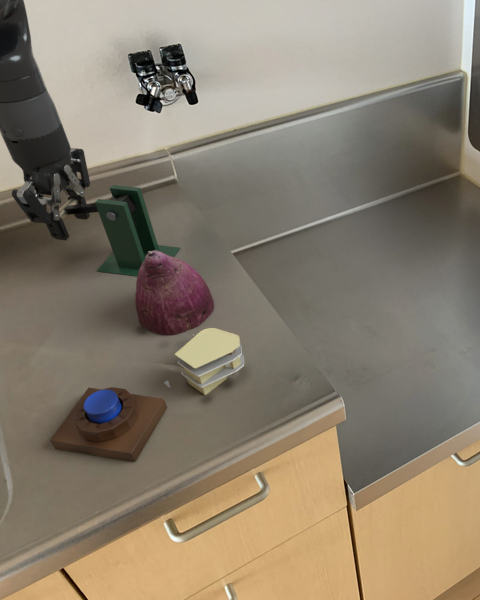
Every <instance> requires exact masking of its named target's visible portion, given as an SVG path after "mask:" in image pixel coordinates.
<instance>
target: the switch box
mask: <svg viewBox="0 0 480 600" xmlns="http://www.w3.org/2000/svg"><path fill="white" fill-rule="evenodd" d="M100 390H111V391H114V392H115V393H116V394H117V396H118V399H119V401H120V403H121V411H120V413H119V415H118V416H117V417H115V418H114V419H112V420H111V421H109V422H106V423H94V422H92V421H91V420H90V419H89V417H88V415H87V413H86V411H85V409H84V403H85V401H86V399H87V398H88V397H89V396H90V395H91V394H93V393H95V392H97V391H100ZM167 409H168V406H167V403H166V400H165V398H163V397H162V398H161V397H156V396H155V397H154V396H149V395H148V396H147V395H143V394H142V395H141V394H134V393H131V392H129V391H128V390H127V389H126V388H121V387H114V386H111V387H107V388H102V389H101V388H96V387H87V389H86V390H85V392H83V394H82V395H81V397H80V398H79V400H78V401H77V403H76V404H75V405H74V407H72V409H71V410H70V412H69V413H68V415H67V416H66V418H65V419H64V420H63V422H62V423H61V424H60V426H59V427H58V428H57V430H56V431H55V432H54V434H53V435H52V437H51V438H50V442H51V444H52V446H53V448H54V449H56V450H61V451H67V452H73V453H79V454H85V455H90V456H97V457H104V458H109V459H115V460H122V461H127V462H134V463H136V462H137V461H138V459H139V457H140V455H141V453H142V452H143V450H144V448H145V446H146V445H147V443H148V441H149V439H150V438H151V436H152V435H153V433H154V431H155V430H156V428H157V427H158V424H159V423H160V421H161V419H162V418H163V416H164V414H165V412H166V411H167Z"/></svg>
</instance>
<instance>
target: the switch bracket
mask: <svg viewBox="0 0 480 600" xmlns="http://www.w3.org/2000/svg"><path fill="white" fill-rule="evenodd" d="M109 191H110V193H111V197H112V196H114V195H124V194H130V196H131V198H132V200H133V201H134V203H135V205H136V207H137V208H136V209H135V210H134V211H133V213H132V214H130V211H129V208H128V204H127V202H122V201H112V200H109V199H102V198H98V199H96V200H95V202H94V203H95V204H96V207H97V210H98V212H97V213H98V215H99V217H100V220H101V223H102V226H103V229H104V232H105V234H106V236H107V239H108V242H109V245H110V247H111V250H112V252H111V254H110V255H109V256H108V257H107V258H106V259H105V260H104V261H103V263H102V264H101V265H100V266H99V267H98V268H97V270H96V272H97V273H104V274H112V275H118V276H119V275H120V276H129V277H136V278H137V276H138V272H139V269H140V267H141V265H142V263H143V262H144V260H145V257H146V255H147V254H148V251H155V250H156V251H160V252H162V253H164V254H166V255H168V256H171V257H175V258H176V256H177V255H178V253H179V252H180V250H181V249H182V247H177V246H171V245H161V244H159V243H158V239H157V237H156V234H155V231H154V227H153V224H152V220H151V217H150V214H149V211H148V208H147V205H146V201H145V198H144V194H143V192H142V188H141V187H138V186H137V187H136V186H129V185H120V184H119V185H118V184H112V185H111V186H110V187H109Z"/></svg>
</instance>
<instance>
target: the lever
mask: <svg viewBox="0 0 480 600" xmlns="http://www.w3.org/2000/svg"><path fill="white" fill-rule="evenodd" d="M108 200H112V201H122V202H127V204H128V208H129V211H130V214H132V213H133V211H134V210H135V209H136V208H137V207H136V205H135V203H134V201H133V200H132V198H131V196H130V194H124V195H114V196H112V195H111V197H110V198H108ZM78 204H79V203H78V201H77V200H76V199H74V198H71V199H70V200H69V201H68V200H67V201H66V203H65V204H63V205H62V206H61V207H59V212H60V217H61V218H62V219H63V220H64V219H65V218H66V217H67V216H68V215H69V216H71V215H74V214H82V213H89V214H94V213H99V212H98V210H97V207H96V204H95V202H94V203H86V204H80V205H78Z"/></svg>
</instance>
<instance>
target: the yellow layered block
mask: <svg viewBox="0 0 480 600" xmlns="http://www.w3.org/2000/svg"><path fill="white" fill-rule="evenodd" d="M174 355H175V356H176V357H178V358H179V359H178V360H177V361H176V362H177V364H178V365H179V366H181V367H183V370H182V371H181V372H180V374H181V375H182V376H183V377H184V378H185V379H186V380H187V384H189V385H190V386H192V388H194V389H195V390H197V391H198V392H200V393H201V394H202V395H204V396H206V395H207V394H209V393H211V392H212V391H213V390H214V389H216V387H218V386H219V385H220V384H222V383H223V382H224V381H225V380H227V379H228V376H230V375H233V374H235V373H237V372H238V371H240V370H241V369H242V368H243V367H244V366H245V356H244V353H243V350H242V343H241V341H240V335H238V334H235V333H232V332H229V331H226V330H222V329H219V328H215V327H209V328H205V329H202V330H201V331H199V332H198V333H197V334H196V335H195V336H194V337H192V338H191V339H190V340H189V341H188V342H187V343H185V344H184V345H183V346H182V347H181V348H180V349H179V350H178V351H176V352H175V353H174ZM163 384H164V385H165V386H166V387H168V388H171V385H170V382H169V380H168V379H167V380H166V381H164V382H163Z"/></svg>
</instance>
